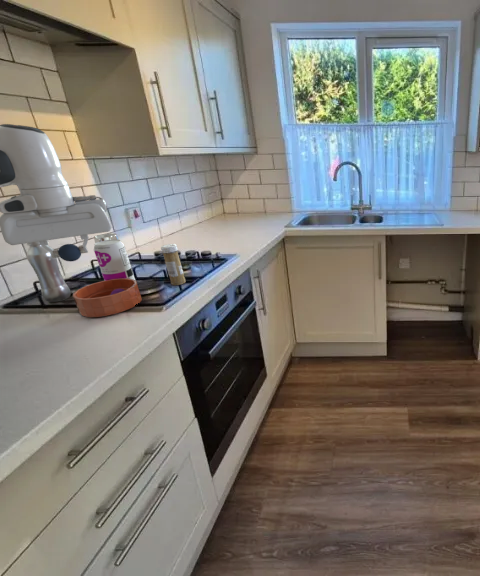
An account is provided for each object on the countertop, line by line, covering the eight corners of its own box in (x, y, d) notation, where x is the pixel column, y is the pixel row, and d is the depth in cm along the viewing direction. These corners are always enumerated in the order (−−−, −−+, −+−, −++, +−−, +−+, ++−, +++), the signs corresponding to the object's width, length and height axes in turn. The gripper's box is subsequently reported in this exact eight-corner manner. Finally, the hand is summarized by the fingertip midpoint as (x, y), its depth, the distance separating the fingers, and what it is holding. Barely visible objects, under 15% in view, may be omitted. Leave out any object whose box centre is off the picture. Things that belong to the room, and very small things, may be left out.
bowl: (67, 314, 103) (60, 295, 101) (119, 293, 116) (113, 276, 114) (104, 322, 98) (96, 302, 96) (153, 299, 112) (148, 281, 109)
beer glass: (130, 276, 131) (117, 235, 125) (106, 280, 127) (92, 239, 121) (129, 270, 136) (117, 231, 130) (107, 274, 132) (93, 235, 126)
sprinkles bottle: (189, 282, 124) (179, 244, 119) (177, 286, 121) (166, 248, 115) (179, 280, 126) (170, 242, 121) (167, 284, 122) (157, 246, 117)
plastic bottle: (55, 296, 115) (29, 235, 107) (78, 295, 116) (54, 234, 108) (40, 305, 109) (11, 241, 101) (64, 303, 110) (37, 240, 102)
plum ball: (104, 292, 106) (118, 283, 107) (113, 299, 110) (127, 290, 111) (111, 302, 104) (125, 292, 106) (120, 308, 108) (134, 299, 110)
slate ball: (57, 262, 91) (51, 246, 89) (76, 257, 94) (70, 241, 93) (69, 264, 89) (62, 247, 87) (87, 259, 93) (81, 242, 91)
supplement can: (118, 290, 118) (103, 246, 112) (101, 287, 121) (85, 244, 115) (141, 281, 125) (128, 240, 119) (124, 279, 128) (111, 238, 122)
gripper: (102, 192, 94) (119, 244, 99) (-8, 203, 82) (18, 260, 88) (103, 195, 89) (120, 249, 94) (-13, 206, 78) (14, 267, 83)
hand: (70, 254), depth 91 cm, fingers closed on slate ball, 4 cm apart
